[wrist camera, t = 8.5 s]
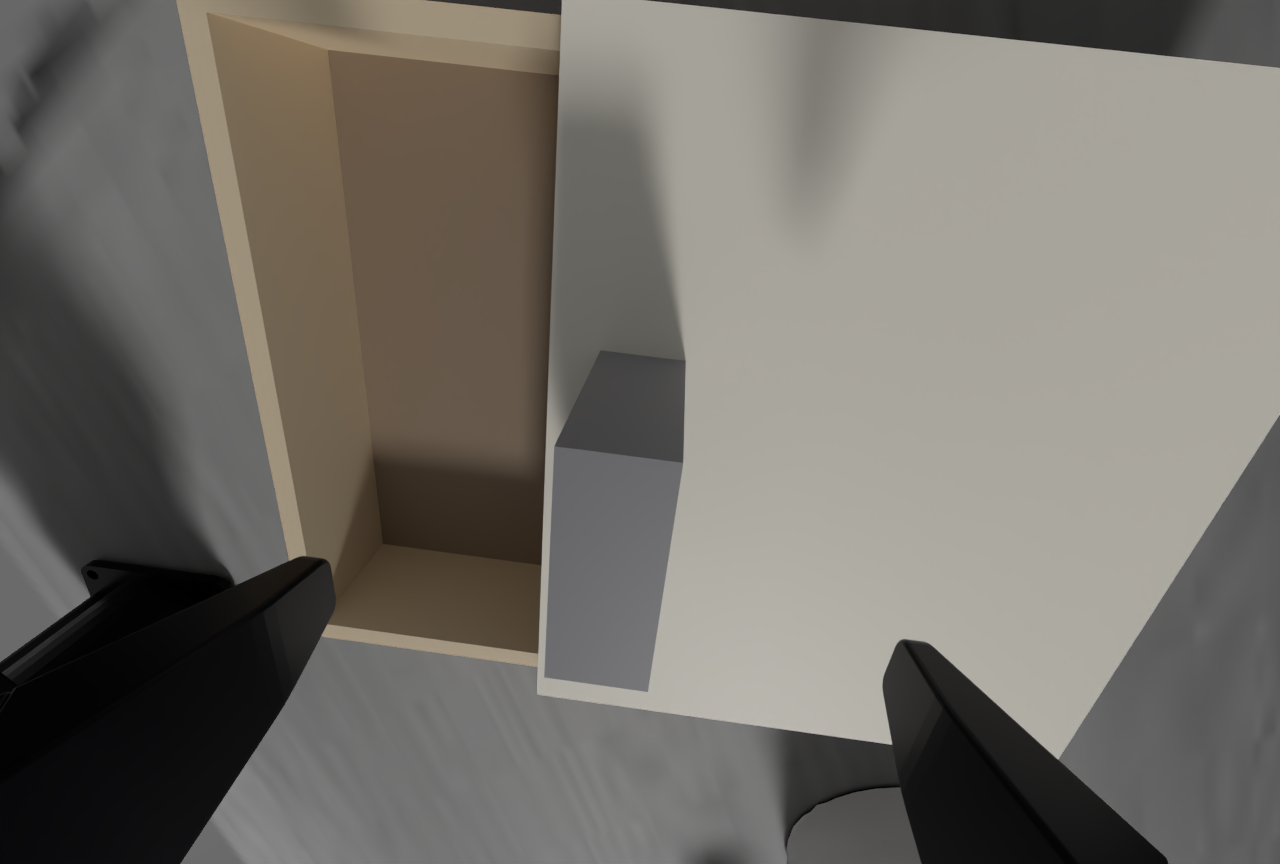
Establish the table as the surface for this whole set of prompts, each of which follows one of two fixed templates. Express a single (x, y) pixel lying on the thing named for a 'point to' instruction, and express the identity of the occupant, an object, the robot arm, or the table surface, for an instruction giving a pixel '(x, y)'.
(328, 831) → the table surface
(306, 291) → the carton
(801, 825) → the toilet tissue
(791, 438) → the carton lid
